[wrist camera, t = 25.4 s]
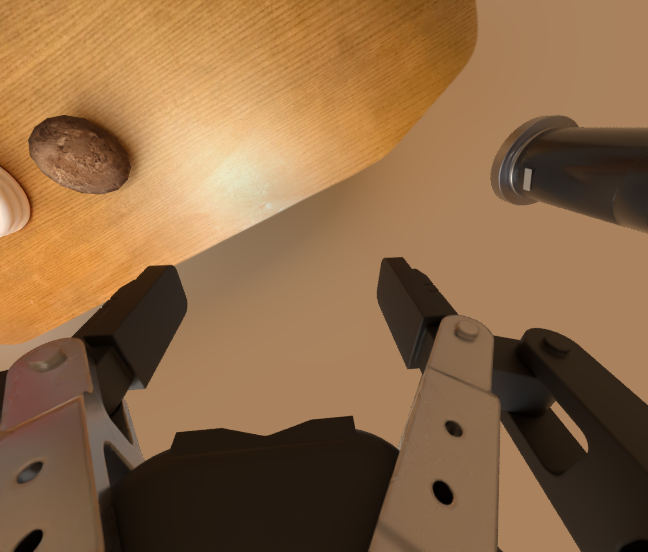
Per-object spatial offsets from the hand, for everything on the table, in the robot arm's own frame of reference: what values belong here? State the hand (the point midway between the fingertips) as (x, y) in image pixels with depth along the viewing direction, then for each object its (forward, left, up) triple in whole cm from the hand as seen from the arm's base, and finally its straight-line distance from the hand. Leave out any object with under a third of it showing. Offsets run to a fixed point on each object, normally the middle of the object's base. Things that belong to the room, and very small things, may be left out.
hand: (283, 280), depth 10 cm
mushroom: (+22, -3, -27) cm, 35 cm away
